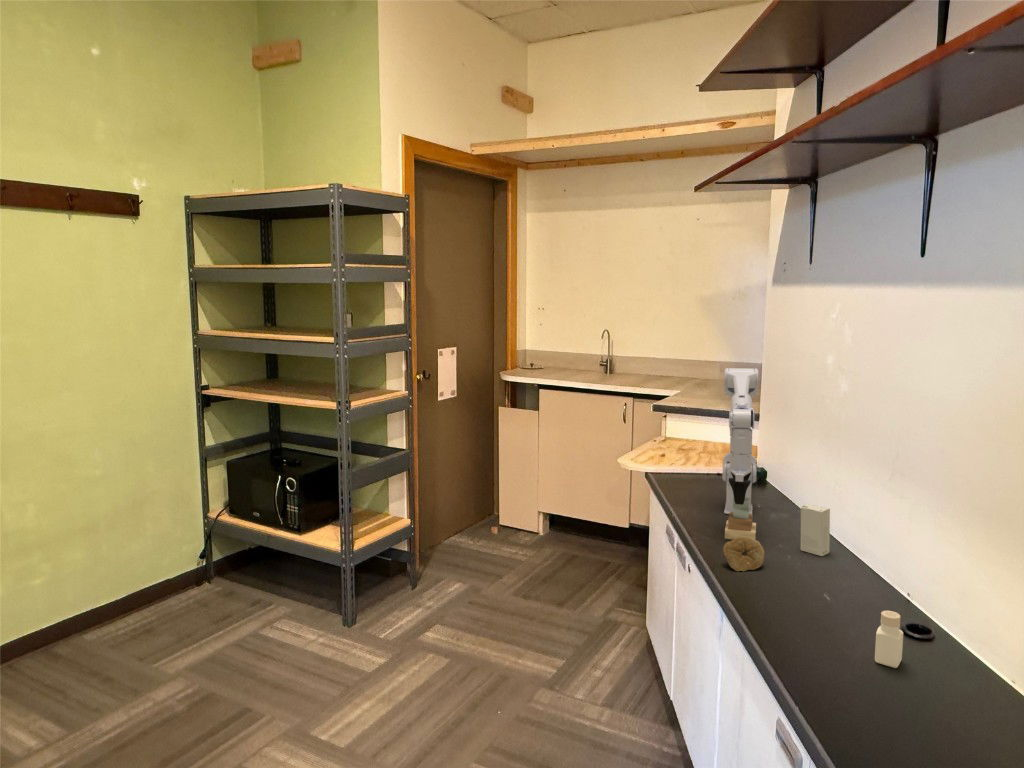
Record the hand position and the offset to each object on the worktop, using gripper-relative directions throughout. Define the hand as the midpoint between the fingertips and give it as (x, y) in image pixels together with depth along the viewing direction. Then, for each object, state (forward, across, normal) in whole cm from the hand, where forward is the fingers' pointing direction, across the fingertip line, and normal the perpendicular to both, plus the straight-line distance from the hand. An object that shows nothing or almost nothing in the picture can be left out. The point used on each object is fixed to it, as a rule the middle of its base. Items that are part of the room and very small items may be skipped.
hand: (739, 499), depth 198 cm
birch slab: (+11, 0, 0) cm, 11 cm away
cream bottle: (+10, +60, +29) cm, 67 cm away
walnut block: (+8, 0, 0) cm, 8 cm away
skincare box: (+10, +7, +19) cm, 23 cm away
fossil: (+11, +22, +2) cm, 24 cm away
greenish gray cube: (+5, 0, 0) cm, 5 cm away
